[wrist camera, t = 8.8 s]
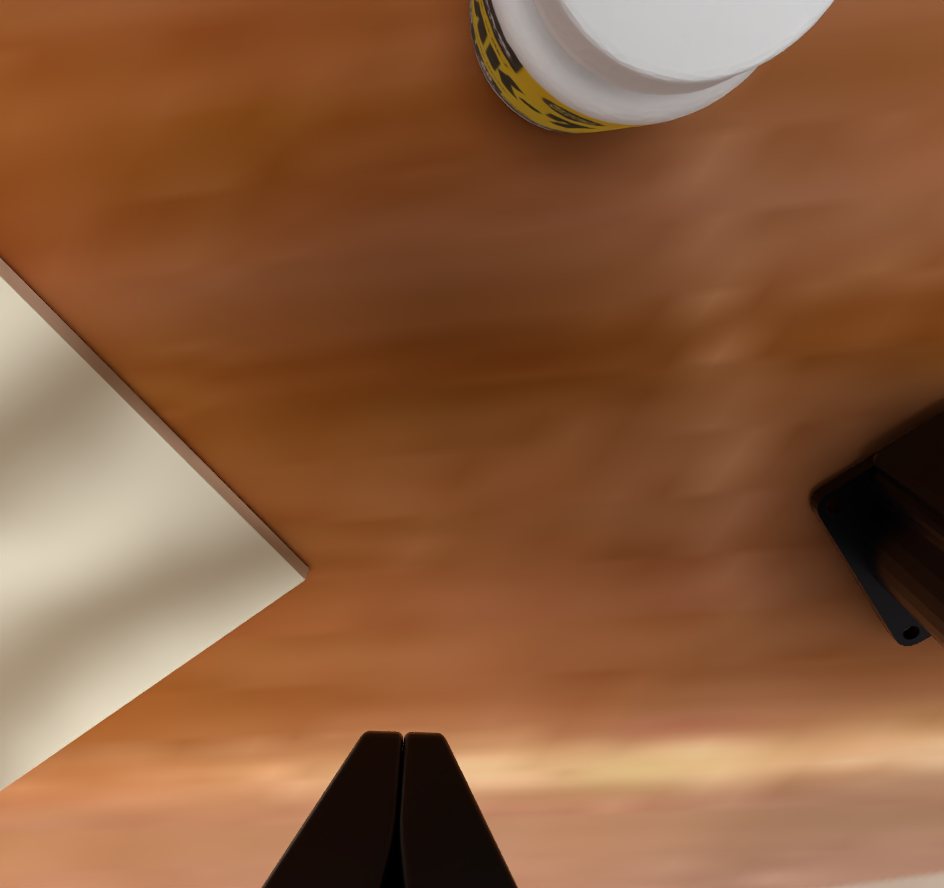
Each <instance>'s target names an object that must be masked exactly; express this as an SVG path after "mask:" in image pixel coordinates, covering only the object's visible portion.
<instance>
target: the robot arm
mask: <svg viewBox="0 0 944 888" xmlns="http://www.w3.org/2000/svg"><path fill="white" fill-rule="evenodd" d="M835 498H837V500H836V503H835V504H834V505H833V506H831V507H828V508H826V506H827V503H828V502H829V501H830V500H832V499H835ZM810 504H811V507H812V510H813V512H814V513H815V515H816V516H817V518H818V520H819V521H820V523H821V525H822V526H823V528H824V529H825V531H826V533H827V534H828V536H829V537H830V539H831V541H832V542H833V544H834V546H835V547H836V549H837V550H838V552H839V554H840V555H841V557H842V558H843V560H844V562H845V563H846V565H847V567H848V568H849V570H850V571H851V573H852V575H853V576H854V578H855V579H856V581H857V583H858V584H859V586H860V588H861V589H862V591H863V592H864V594H865V596H866V597H867V599H868V600H869V602H870V604H871V605H872V607H873V609H874V610H875V612H876V613H877V615H878V617H879V618H880V620H881V621H882V623H883V625H884V626H885V628H886V630H887V631H888V633H889V634H890V635H891V636H892V637H893V638H894V639H895V640H896V641H897V642H898V643H899V644H900V645H903V646H912V645H914V644H917V643H919V642H921V641H923V640H925V639H926V638H928V637H930V636H933V637H934V638H935V639H936V640H937V641H938V642H939V643H940V644H941V645H942V646H943V647H944V412H943V413H941V414H939V415H938V416H936V417H934V418H933V419H931V420H929V421H928V422H926V423H925V424H923V425H921V426H920V427H918V428H916V429H915V430H913V431H911V432H910V433H908V434H906V435H905V436H903V437H902V438H900V439H898V440H897V441H895V442H893V443H892V444H890V445H888V446H887V447H885V448H883V449H882V450H880V451H879V452H878V453H876V454H875V455H873V456H871V457H870V458H868V459H866V460H865V461H863V462H861V463H860V464H858V465H856V466H855V467H853V468H851V469H850V470H848V471H847V472H845V473H843V474H842V475H840V476H838V477H837V478H835V479H833V480H832V481H830V482H828V483H827V484H825V485H824V486H822V487H820V488H819V489H818V490H817V491H816V492H815V493H814V494H813V496H812V498H811V503H810ZM908 627H910V628H909V629H907V628H908ZM905 629H907V630H906V631H904V630H905ZM262 888H518V887H517V885H516V883H515V881H514V879H513V877H512V875H511V872H510V870H509V868H508V866H507V864H506V862H505V860H504V858H503V856H502V854H501V852H500V850H499V848H498V846H497V843H496V841H495V839H494V837H493V835H492V833H491V831H490V829H489V827H488V825H487V823H486V821H485V819H484V817H483V815H482V812H481V810H480V808H479V806H478V804H477V802H476V800H475V798H474V796H473V794H472V792H471V790H470V788H469V786H468V784H467V781H466V779H465V777H464V775H463V773H462V771H461V769H460V767H459V765H458V763H457V761H456V759H455V757H454V755H453V753H452V750H451V748H450V746H449V744H448V742H447V740H446V739H445V737H444V736H443V735H442V734H440V733H423V732H409V733H407V734H406V735H405V737H404V742H403V736H402V734H401V733H399V732H390V731H367V732H365V733H364V734H363V735H362V736H361V737H360V738H359V740H358V741H357V743H356V745H355V746H354V748H353V749H352V751H351V752H350V754H349V755H348V757H347V758H346V760H345V761H344V763H343V764H342V766H341V767H340V769H339V770H338V772H337V773H336V775H335V777H334V778H333V780H332V781H331V783H330V784H329V786H328V787H327V789H326V790H325V792H324V793H323V795H322V796H321V798H320V799H319V801H318V802H317V804H316V806H315V807H314V809H313V810H312V812H311V813H310V815H309V816H308V818H307V819H306V821H305V822H304V824H303V825H302V827H301V828H300V830H299V831H298V833H297V834H296V836H295V838H294V839H293V841H292V842H291V844H290V845H289V847H288V848H287V850H286V851H285V853H284V854H283V856H282V857H281V859H280V860H279V862H278V863H277V865H276V866H275V868H274V870H273V871H272V873H271V874H270V876H269V877H268V879H267V880H266V882H265V883H264V885H263V886H262Z"/></svg>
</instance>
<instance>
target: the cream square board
mask: <svg viewBox="0 0 944 888" xmlns="http://www.w3.org/2000/svg"><path fill="white" fill-rule="evenodd" d="M308 570H309V568H308V567H307V566H306V565H305V564H304V563H303V562H302V561H301V560H300V559H299V558H298V557H297V556H296V555H295V554H294V553H293V552H292V551H291V550H290V549H289V548H288V547H287V546H286V545H285V544H284V543H283V542H282V541H281V540H280V539H279V538H278V537H277V536H276V535H275V534H274V533H273V532H272V531H271V530H270V529H269V528H268V527H267V526H266V525H265V524H264V523H263V522H262V521H261V520H260V519H259V518H258V517H257V516H256V515H255V514H254V513H253V512H252V511H251V510H250V508H249V507H248V506H247V505H246V504H245V503H244V502H243V501H242V500H241V499H240V498H239V497H238V496H237V495H236V494H235V493H234V492H233V491H232V490H231V489H230V488H229V487H228V486H227V485H226V484H225V483H224V482H223V481H222V480H221V479H220V478H219V477H218V476H217V475H216V474H215V473H214V472H213V471H212V470H211V469H210V468H209V467H208V466H207V465H206V464H205V463H204V462H203V461H202V460H201V459H200V458H199V457H198V456H197V455H196V454H195V453H194V452H193V451H192V450H191V449H190V448H189V447H188V446H187V445H186V444H185V443H184V442H183V441H182V440H181V439H180V438H179V437H178V436H177V435H176V434H175V433H174V432H173V431H172V430H171V429H170V428H169V427H168V426H167V425H166V424H165V423H164V422H163V421H162V420H161V419H160V418H159V417H158V416H157V415H156V414H155V413H154V412H153V411H152V410H151V409H150V408H149V407H148V406H147V405H146V404H145V403H144V402H143V401H142V400H141V399H140V398H139V397H138V396H137V395H136V394H135V393H134V392H133V391H132V390H131V389H130V388H129V387H128V386H127V385H126V384H125V383H124V382H123V381H122V380H121V379H120V378H119V377H118V376H117V375H116V374H115V373H114V372H113V371H112V370H111V369H110V368H109V367H108V366H107V365H106V364H105V363H104V362H103V361H102V360H101V359H100V358H99V357H98V356H97V355H96V354H95V353H94V352H93V351H92V350H91V349H90V348H89V347H88V346H87V345H86V344H85V343H84V342H83V341H82V340H81V338H80V337H79V336H78V335H77V334H76V333H75V332H74V331H73V330H72V329H71V328H70V327H69V326H68V325H67V324H66V323H65V322H64V321H63V320H62V319H61V318H60V317H59V316H58V315H57V314H56V313H55V312H54V311H53V310H52V309H51V308H50V307H49V306H48V305H47V304H46V303H45V302H44V301H43V300H42V299H41V298H40V297H39V296H38V295H37V294H36V293H35V292H34V291H33V290H32V289H31V288H30V287H29V286H28V285H27V284H26V283H25V282H24V281H23V280H22V279H21V278H20V277H19V276H18V275H17V274H16V273H15V272H14V271H13V270H12V269H11V268H10V267H9V266H8V265H7V264H6V263H5V262H4V261H3V260H2V259H1V258H0V791H1V790H3V789H4V788H6V787H7V786H8V785H10V784H11V783H13V782H14V781H16V780H17V779H19V778H20V777H21V776H23V775H24V774H26V773H27V772H29V771H30V770H32V769H33V768H34V767H36V766H37V765H39V764H40V763H42V762H43V761H45V760H46V759H47V758H49V757H50V756H52V755H53V754H55V753H56V752H58V751H59V750H60V749H62V748H63V747H65V746H66V745H68V744H69V743H71V742H72V741H73V740H75V739H76V738H78V737H79V736H81V735H82V734H83V733H85V732H86V731H88V730H89V729H91V728H92V727H94V726H95V725H96V724H98V723H99V722H101V721H102V720H104V719H105V718H107V717H108V716H109V715H111V714H112V713H114V712H115V711H117V710H118V709H120V708H121V707H122V706H124V705H125V704H127V703H128V702H130V701H131V700H133V699H134V698H135V697H137V696H138V695H140V694H141V693H143V692H144V691H146V690H147V689H148V688H150V687H151V686H153V685H154V684H156V683H157V682H159V681H160V680H161V679H163V678H164V677H166V676H167V675H169V674H170V673H172V672H173V671H174V670H176V669H177V668H179V667H180V666H182V665H183V664H185V663H186V662H187V661H189V660H190V659H192V658H193V657H195V656H196V655H198V654H199V653H200V652H202V651H203V650H205V649H206V648H208V647H209V646H211V645H212V644H213V643H215V642H216V641H218V640H219V639H221V638H222V637H224V636H225V635H226V634H228V633H229V632H231V631H232V630H234V629H235V628H237V627H238V626H239V625H241V624H242V623H244V622H245V621H247V620H248V619H250V618H251V617H252V616H254V615H255V614H257V613H258V612H260V611H261V610H262V609H264V608H265V607H267V606H268V605H270V604H271V603H273V602H274V601H275V600H277V599H278V598H280V597H281V596H283V595H284V594H286V593H287V592H288V591H290V590H291V589H293V588H294V587H296V586H297V585H299V584H300V583H301V582H303V581H304V580H305V579H306V576H307V573H308Z"/></svg>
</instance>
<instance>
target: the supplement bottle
mask: <svg viewBox="0 0 944 888" xmlns="http://www.w3.org/2000/svg"><path fill="white" fill-rule="evenodd" d="M833 1H834V0H470V13H469V15H470V28H471V36H472V41H473V45H474V49H475V53H476V56H477V59H478V62H479V65H480V67H481V69H482V71H483V73H484V75H485V77H486V79H487V81H488V82H489V84H490V85H491V87H492V88H493V90H494V91H495V92H496V94H497V95H498V96H499V97H500V98H501V99H502V101H503V102H504V103H505V104H506V105H507V106H508V107H510V108H511V109H512V110H513V111H514V112H515V113H517V114H518V115H519V116H521V117H522V118H524V119H525V120H527V121H529V122H531V123H533V124H535V125H537V126H539V127H542V128H544V129H547V130H551V131H556V132H562V133H574V134H577V133H591V132H599V131H607V130H615V129H622V128H628V127H638V126H644V125H651V124H658V123H662V122H667V121H671V120H674V119H677V118H680V117H684V116H686V115H689V114H692V113H694V112H696V111H698V110H701V109H703V108H705V107H707V106H709V105H710V104H712V103H714V102H715V101H717V100H719V99H720V98H722V97H723V96H725V95H726V94H727V93H729V92H730V91H731V90H733V89H734V88H735V87H737V86H738V85H739V84H740V83H742V82H743V81H744V80H745V79H746V78H747V77H748V76H749V75H750V74H751V73H752V72H753V71H754V70H755V69H756V68H757V67H758V66H759V65H761V64H763V63H765V62H767V61H769V60H771V59H772V58H774V57H775V56H777V55H778V54H780V53H781V52H783V51H784V50H785V49H786V48H788V47H789V46H790V45H792V44H793V43H794V42H796V41H797V40H798V39H799V38H800V37H801V36H803V35H804V34H805V33H806V32H807V31H808V30H809V29H810V28H811V27H812V26H813V25H814V24H815V23H816V22H817V21H818V20H819V18H820V17H821V16H822V15H823V14H824V13H825V11H826V10H827V9H828V8H829V6H830V5H831V4H832V2H833Z"/></svg>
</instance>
